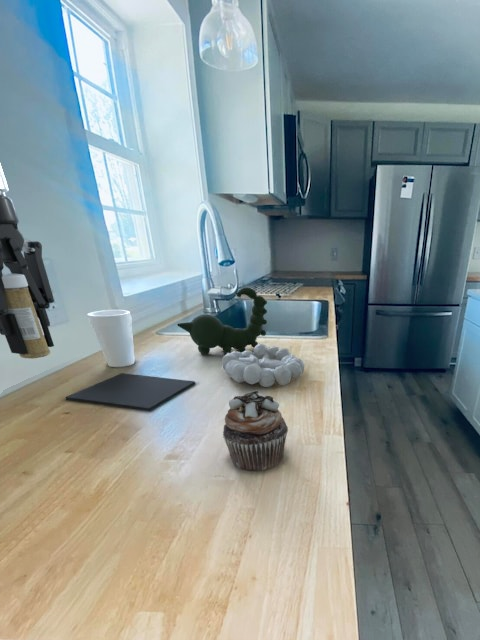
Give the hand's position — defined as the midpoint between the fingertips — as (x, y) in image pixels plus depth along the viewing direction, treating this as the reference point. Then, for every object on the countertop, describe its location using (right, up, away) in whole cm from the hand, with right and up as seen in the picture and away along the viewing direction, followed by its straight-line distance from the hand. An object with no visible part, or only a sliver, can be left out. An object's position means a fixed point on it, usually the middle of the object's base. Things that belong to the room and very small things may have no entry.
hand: (33, 349), depth 65 cm
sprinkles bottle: (0, -1, +1) cm, 1 cm away
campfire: (+37, -1, +26) cm, 45 cm away
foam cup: (-2, +3, +33) cm, 33 cm away
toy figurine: (+23, +9, +44) cm, 51 cm away
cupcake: (+41, -19, -8) cm, 46 cm away
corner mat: (+10, -6, +15) cm, 19 cm away
